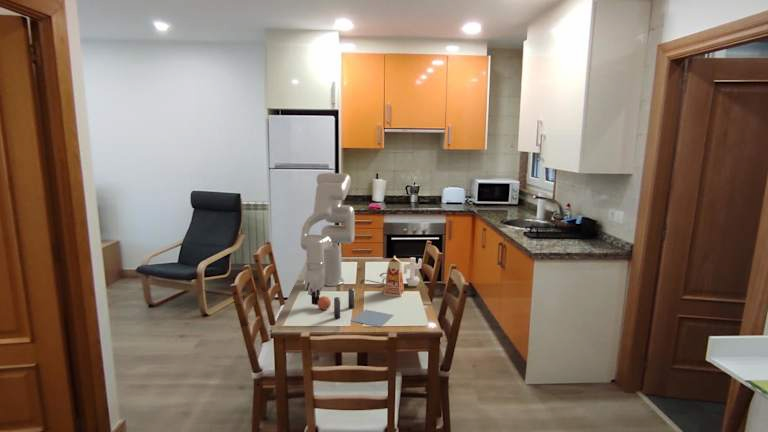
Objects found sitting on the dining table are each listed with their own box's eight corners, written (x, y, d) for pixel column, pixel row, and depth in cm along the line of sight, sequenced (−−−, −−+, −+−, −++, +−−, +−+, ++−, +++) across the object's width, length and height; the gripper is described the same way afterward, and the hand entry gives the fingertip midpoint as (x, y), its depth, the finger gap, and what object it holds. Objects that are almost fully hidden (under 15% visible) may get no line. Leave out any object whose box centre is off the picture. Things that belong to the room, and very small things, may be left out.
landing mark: (350, 321, 191) (350, 320, 191) (365, 309, 204) (365, 309, 204) (380, 327, 186) (380, 326, 185) (393, 315, 198) (393, 314, 198)
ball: (314, 298, 201) (325, 300, 199) (322, 293, 206) (333, 295, 204) (315, 310, 203) (325, 313, 200) (322, 304, 208) (333, 307, 205)
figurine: (402, 282, 243) (403, 256, 240) (419, 282, 244) (420, 255, 241) (404, 287, 236) (405, 259, 233) (422, 286, 237) (423, 259, 234)
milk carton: (401, 296, 222) (402, 257, 218) (383, 295, 223) (383, 256, 220) (404, 290, 230) (405, 253, 227) (386, 289, 232) (387, 251, 229)
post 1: (333, 318, 194) (333, 298, 192) (336, 316, 196) (336, 296, 194) (338, 319, 193) (338, 299, 191) (341, 317, 195) (341, 297, 193)
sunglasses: (380, 289, 234) (380, 279, 233) (359, 282, 244) (359, 273, 243) (400, 281, 247) (400, 272, 246) (379, 275, 256) (379, 267, 255)
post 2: (347, 308, 205) (347, 289, 204) (350, 306, 208) (350, 287, 206) (352, 309, 204) (352, 290, 203) (355, 307, 207) (355, 288, 205)
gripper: (317, 260, 211) (317, 297, 214) (298, 268, 197) (299, 307, 200) (330, 262, 208) (331, 300, 211) (312, 271, 194) (313, 310, 197)
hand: (315, 303), depth 206 cm, fingers closed
